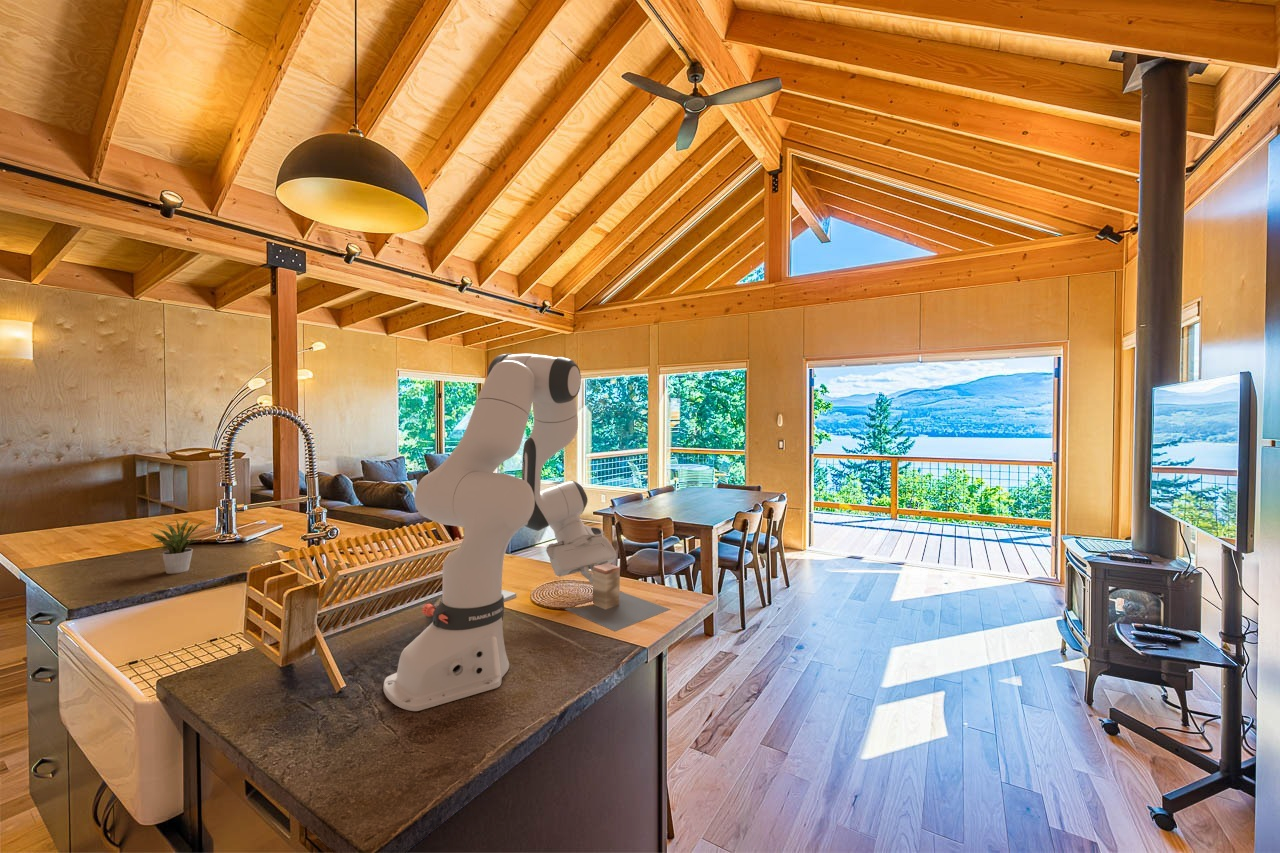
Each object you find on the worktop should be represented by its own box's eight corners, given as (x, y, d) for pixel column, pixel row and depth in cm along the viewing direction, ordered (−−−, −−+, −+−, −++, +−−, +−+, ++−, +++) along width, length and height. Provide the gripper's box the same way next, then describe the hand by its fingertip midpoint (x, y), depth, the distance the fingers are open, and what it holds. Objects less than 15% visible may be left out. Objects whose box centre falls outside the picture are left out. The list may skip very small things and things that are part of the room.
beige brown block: (605, 609, 132) (605, 570, 131) (592, 604, 135) (593, 566, 135) (619, 604, 135) (619, 567, 135) (606, 599, 139) (607, 563, 138)
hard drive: (495, 587, 145) (460, 600, 135) (516, 593, 141) (482, 606, 131) (495, 593, 145) (459, 606, 135) (516, 599, 141) (482, 613, 131)
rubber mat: (614, 633, 118) (614, 631, 118) (564, 611, 131) (564, 609, 131) (670, 611, 133) (670, 609, 133) (619, 593, 146) (619, 591, 146)
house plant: (203, 561, 169) (204, 512, 169) (218, 568, 162) (218, 517, 161) (144, 571, 158) (145, 518, 157) (157, 579, 150) (158, 524, 150)
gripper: (549, 538, 135) (571, 584, 128) (606, 527, 150) (629, 568, 143) (538, 552, 138) (560, 597, 131) (595, 540, 153) (617, 580, 146)
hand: (596, 582), depth 137 cm, fingers closed
